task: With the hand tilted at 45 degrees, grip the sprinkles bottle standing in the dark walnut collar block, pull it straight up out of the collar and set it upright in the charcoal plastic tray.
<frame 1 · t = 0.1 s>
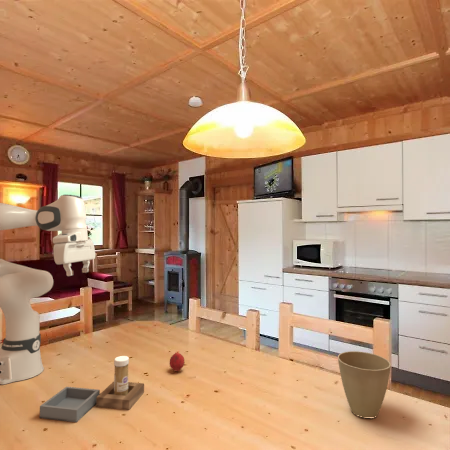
hand: (78, 274, 121), 39 cm above the table, tool pointing down, fingers open, 8 cm apart
sprinkles bottle: (121, 399, 106), resting in collar block
plant pot: (363, 412, 99), on the table
onion: (177, 372, 127), on the table
tray: (71, 408, 100), on the table
collar block: (121, 399, 106), on the table
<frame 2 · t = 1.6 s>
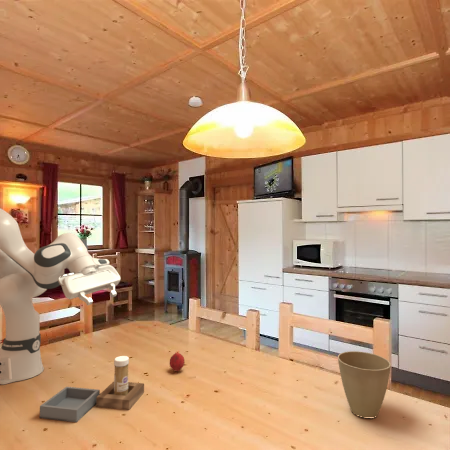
hand: (102, 299, 113), 31 cm above the table, tool tilted 45°, fingers open, 8 cm apart
nothing on the table moved.
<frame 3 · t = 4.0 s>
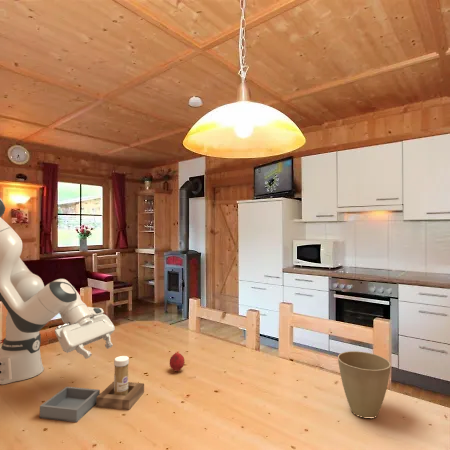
hand: (100, 352, 109), 14 cm above the table, tool tilted 45°, fingers open, 8 cm apart
nothing on the table moved.
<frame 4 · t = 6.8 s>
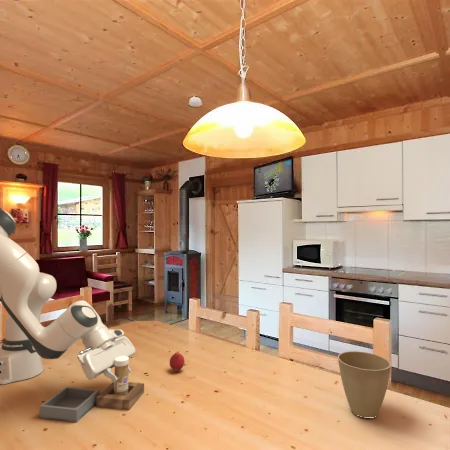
hand: (122, 376, 106), 7 cm above the table, tool tilted 45°, fingers closed on sprinkles bottle, 4 cm apart
sprinkles bottle: (121, 399, 106), resting in collar block, touching gripper
everything else where it was.
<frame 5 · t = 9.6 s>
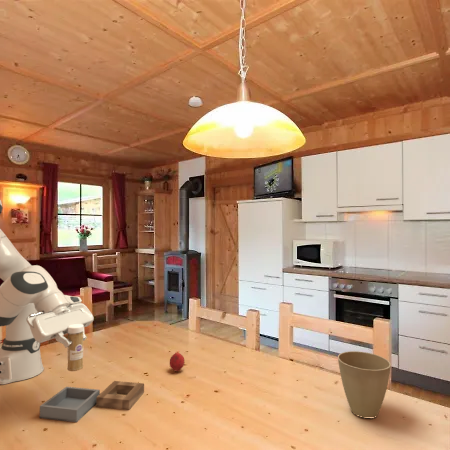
hand: (76, 342, 101), 20 cm above the table, tool tilted 45°, fingers closed on sprinkles bottle, 4 cm apart
sprinkles bottle: (75, 369, 101), point 12 cm above the table, touching gripper
everything else where it was.
when the fingers open (9 cm above the table, at t = 12.7 s): sprinkles bottle stays where it is, resting on tray.
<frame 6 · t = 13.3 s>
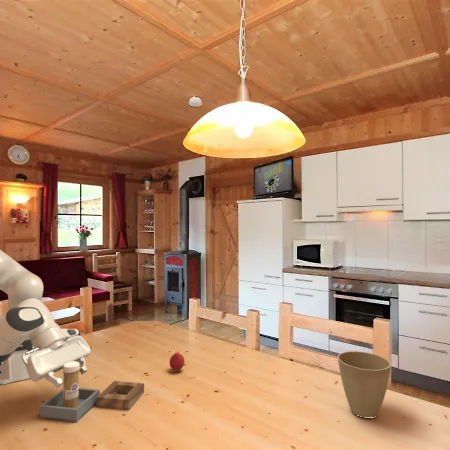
hand: (72, 378, 100), 9 cm above the table, tool tilted 45°, fingers open, 8 cm apart
sprinkles bottle: (70, 408, 100), resting on tray
everything else where it was.
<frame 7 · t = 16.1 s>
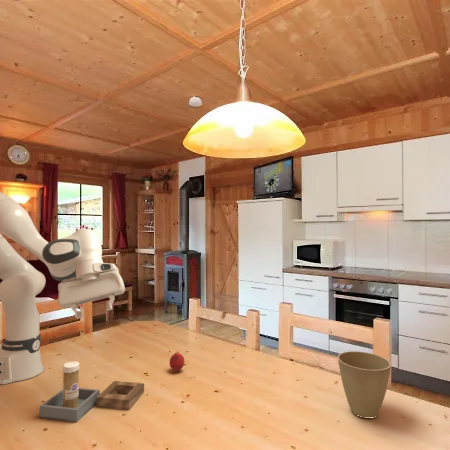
hand: (94, 313, 102), 29 cm above the table, tool tilted 30°, fingers open, 8 cm apart
nothing on the table moved.
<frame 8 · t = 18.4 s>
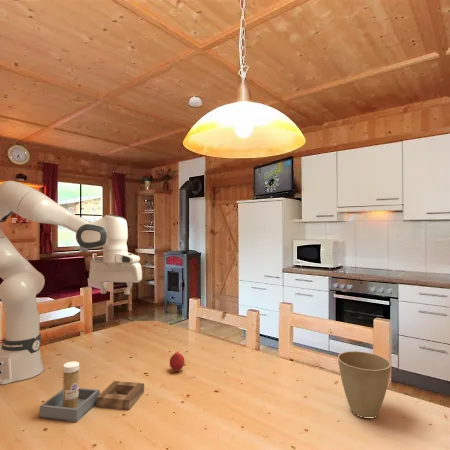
hand: (115, 293, 123), 31 cm above the table, tool pointing down, fingers open, 8 cm apart
nothing on the table moved.
at the end: sprinkles bottle inside the target area on the tray (0.1 cm from its centre), point 0.3 cm above the tray's base; sprinkles bottle tilted 0°; the gripper is holding nothing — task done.
